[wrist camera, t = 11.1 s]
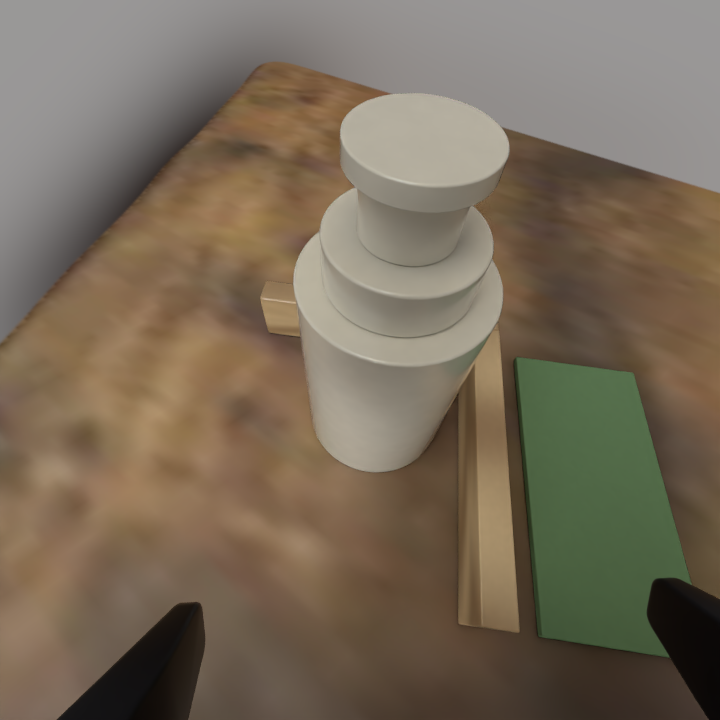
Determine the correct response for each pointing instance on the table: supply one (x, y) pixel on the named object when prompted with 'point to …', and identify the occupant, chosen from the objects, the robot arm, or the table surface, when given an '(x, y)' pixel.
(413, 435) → the lidded jar
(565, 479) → the green cloth
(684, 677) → the robot arm
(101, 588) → the table surface
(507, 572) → the corner rails
